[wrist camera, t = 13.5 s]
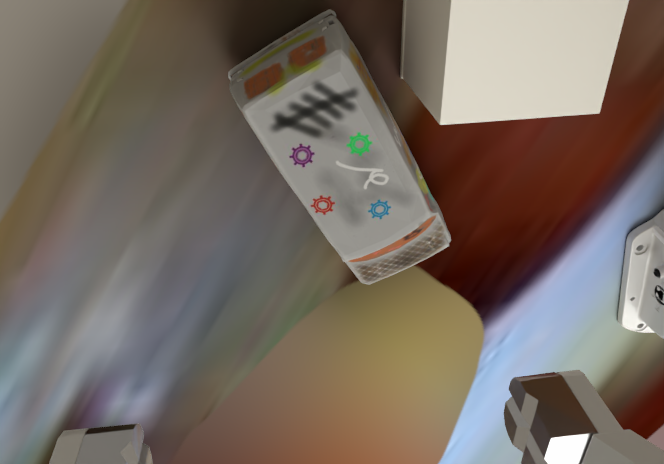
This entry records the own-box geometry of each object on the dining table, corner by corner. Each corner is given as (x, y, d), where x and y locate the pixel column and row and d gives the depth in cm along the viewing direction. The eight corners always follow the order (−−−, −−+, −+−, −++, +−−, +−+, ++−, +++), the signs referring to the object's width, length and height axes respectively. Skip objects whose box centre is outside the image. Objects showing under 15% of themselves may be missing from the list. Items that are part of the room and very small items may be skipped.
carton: (529, 68, 49) (600, 114, 39) (399, 76, 48) (438, 126, 38) (559, -105, 42) (657, -102, 32) (407, -99, 40) (458, -96, 30)
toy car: (354, 260, 59) (371, 321, 50) (223, 66, 46) (216, 105, 37) (442, 215, 57) (474, 271, 48) (331, -1, 44) (349, 25, 35)
